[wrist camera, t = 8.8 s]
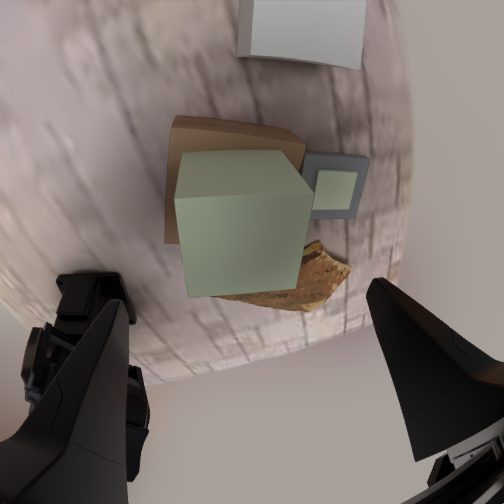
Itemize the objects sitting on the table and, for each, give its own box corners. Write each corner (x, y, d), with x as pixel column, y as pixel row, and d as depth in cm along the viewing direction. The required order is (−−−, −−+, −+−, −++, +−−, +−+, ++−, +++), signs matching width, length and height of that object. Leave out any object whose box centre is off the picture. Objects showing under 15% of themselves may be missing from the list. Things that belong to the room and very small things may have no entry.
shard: (207, 284, 24) (209, 299, 23) (244, 212, 20) (248, 225, 19) (308, 303, 28) (313, 317, 27) (352, 248, 24) (360, 261, 23)
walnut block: (264, 219, 21) (275, 248, 18) (168, 213, 19) (164, 243, 16) (288, 128, 16) (306, 145, 14) (176, 114, 15) (170, 127, 12)
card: (351, 214, 21) (356, 220, 20) (293, 215, 20) (296, 222, 20) (366, 156, 18) (372, 160, 17) (302, 151, 17) (306, 156, 17)
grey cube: (318, 64, 14) (359, 70, 10) (236, 57, 13) (250, 55, 9) (324, -4, 10) (366, -19, 7) (240, -16, 10) (256, -44, 6)
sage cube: (280, 149, 14) (314, 193, 10) (272, 228, 17) (295, 288, 13) (182, 152, 13) (174, 199, 9) (189, 233, 16) (188, 297, 12)
